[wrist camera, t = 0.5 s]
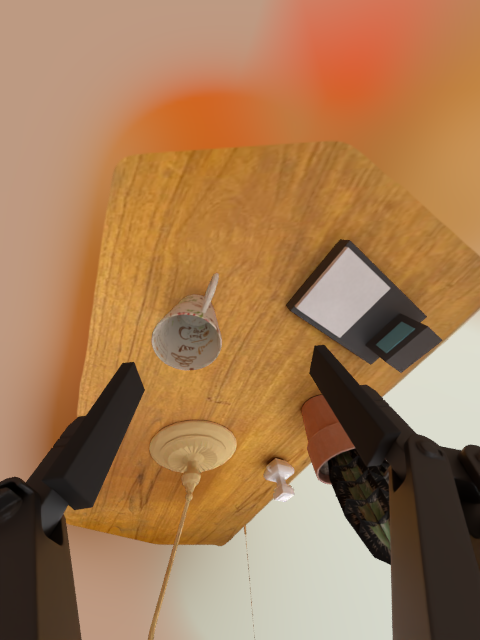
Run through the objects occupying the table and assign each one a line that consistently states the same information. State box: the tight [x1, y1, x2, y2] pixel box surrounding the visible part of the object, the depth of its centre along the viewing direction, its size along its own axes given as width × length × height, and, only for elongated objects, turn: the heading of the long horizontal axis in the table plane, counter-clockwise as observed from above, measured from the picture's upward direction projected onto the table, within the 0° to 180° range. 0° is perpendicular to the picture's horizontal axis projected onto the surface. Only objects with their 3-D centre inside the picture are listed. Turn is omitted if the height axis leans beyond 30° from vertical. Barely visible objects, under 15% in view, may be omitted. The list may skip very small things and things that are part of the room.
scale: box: [286, 239, 442, 373], centre depth 31 cm, size 23×13×7 cm, turn 55°
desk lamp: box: [148, 420, 246, 640], centre depth 31 cm, size 31×23×40 cm
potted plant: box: [302, 395, 391, 565], centre depth 35 cm, size 14×14×25 cm
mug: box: [152, 273, 222, 370], centre depth 26 cm, size 8×13×10 cm, turn 154°
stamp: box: [263, 458, 294, 502], centre depth 53 cm, size 9×7×8 cm
